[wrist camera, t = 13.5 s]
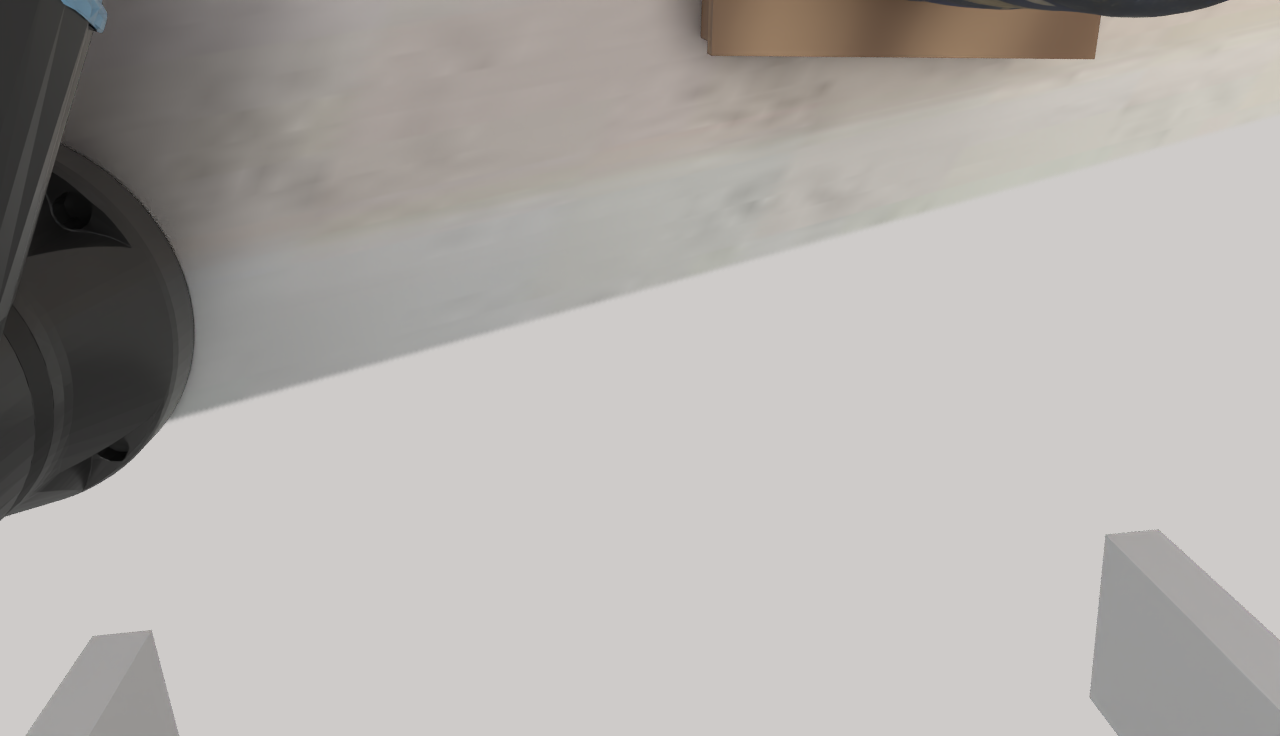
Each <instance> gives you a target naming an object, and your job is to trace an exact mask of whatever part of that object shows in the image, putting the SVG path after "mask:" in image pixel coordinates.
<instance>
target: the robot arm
mask: <svg viewBox="0 0 1280 736" xmlns="http://www.w3.org/2000/svg"><path fill="white" fill-rule="evenodd" d="M106 21H107V12H106V10H105V9H104V7H103V5H102V0H0V520H1V519H2V518H4V517H5V516H8V515H11V514H15V513H18V512H22V511H25V510H29V509H32V508H35V507H39V506H42V505H45V504H48V503H52V502H55V501H59V500H62V499H65V498H68V497H70V496H74V495H76V494H78V493H81V492H83V491H85V490H87V489H89V488H91V487H93V486H95V485H97V484H99V483H100V482H102V481H103V480H105V479H107V478H108V477H110V476H112V475H113V474H115V473H116V472H117V471H118V470H120V469H121V468H123V467H124V466H125V465H126V464H127V463H128V462H130V461H131V460H132V459H133V458H134V457H135V456H136V455H137V454H138V453H139V452H140V451H141V449H143V448H144V446H145V445H146V444H147V443H148V442H149V441H150V440H151V439H152V438H153V437H154V436H155V435H156V434H157V433H158V431H159V430H160V429H161V428H162V426H163V425H164V424H165V423H166V421H167V420H168V418H169V417H170V415H171V414H172V412H173V411H174V409H175V407H176V405H177V403H178V402H179V399H180V397H181V395H182V393H183V390H184V388H185V385H186V382H187V379H188V375H189V371H190V367H191V361H192V355H193V344H194V325H193V314H192V308H191V302H190V297H189V293H188V289H187V285H186V282H185V279H184V276H183V273H182V271H181V268H180V266H179V264H178V261H177V259H176V257H175V255H174V253H173V251H172V249H171V247H170V245H169V243H168V242H167V240H166V238H165V237H164V235H163V233H162V232H161V230H160V229H159V227H158V226H157V224H156V223H155V222H154V220H153V219H152V218H151V216H150V215H149V214H148V213H147V211H146V210H145V209H144V208H143V206H142V205H141V204H140V203H139V202H138V201H137V200H136V199H135V198H134V197H133V196H132V195H131V194H130V193H129V192H128V191H127V190H126V189H125V188H124V187H123V186H122V185H121V184H120V183H119V182H117V181H116V180H115V179H114V178H113V177H112V176H110V175H109V174H108V173H106V172H105V171H104V170H102V169H101V168H100V167H98V166H97V165H95V164H94V163H92V162H91V161H89V160H88V159H86V158H85V157H83V156H81V155H80V154H78V153H76V152H74V151H73V150H71V149H69V148H67V147H65V146H63V145H61V144H60V143H61V139H62V136H63V132H64V129H65V126H66V122H67V119H68V115H69V112H70V109H71V105H72V102H73V98H74V95H75V92H76V88H77V85H78V81H79V78H80V74H81V71H82V68H83V64H84V61H85V57H86V54H87V51H88V47H89V44H90V40H91V37H92V34H93V31H96V32H100V33H102V32H103V31H104V28H105V25H106ZM1090 699H1091V700H1092V701H1093V703H1094V704H1095V705H1096V707H1097V708H1098V709H1099V711H1100V712H1101V713H1102V715H1103V716H1104V717H1105V719H1106V720H1107V721H1108V723H1109V724H1110V725H1111V727H1112V728H1113V729H1114V731H1115V732H1116V733H1117V735H1118V736H1280V640H1279V639H1278V638H1277V637H1276V636H1275V635H1274V634H1273V633H1271V632H1270V631H1269V630H1268V629H1267V628H1266V627H1265V626H1264V625H1263V624H1262V623H1260V622H1259V621H1258V620H1257V619H1256V618H1255V617H1254V616H1253V615H1252V614H1251V613H1249V612H1248V611H1247V610H1246V609H1245V608H1244V607H1243V606H1242V605H1241V604H1239V602H1237V601H1236V600H1235V599H1234V598H1233V597H1232V596H1231V595H1230V594H1229V593H1228V592H1227V591H1225V590H1224V589H1223V588H1222V587H1221V586H1220V585H1219V584H1218V583H1217V582H1216V581H1214V580H1213V579H1212V578H1211V577H1210V576H1209V575H1208V574H1207V573H1206V572H1205V571H1203V570H1202V569H1201V568H1200V567H1199V566H1198V565H1197V564H1196V563H1195V562H1194V561H1193V560H1191V559H1190V558H1189V557H1188V556H1187V555H1186V554H1185V553H1184V552H1183V551H1182V550H1180V549H1179V548H1178V547H1177V546H1176V545H1175V544H1174V543H1173V542H1172V541H1171V540H1169V539H1168V538H1167V537H1166V536H1165V535H1164V534H1163V533H1162V532H1161V531H1159V530H1148V531H1138V532H1128V533H1118V534H1108V535H1106V536H1105V547H1104V556H1103V566H1102V577H1101V587H1100V597H1099V607H1098V618H1097V628H1096V638H1095V649H1094V658H1093V668H1092V679H1091V689H1090ZM26 736H179V734H178V730H177V727H176V723H175V719H174V715H173V711H172V707H171V703H170V700H169V696H168V692H167V689H166V684H165V680H164V677H163V673H162V669H161V665H160V661H159V657H158V654H157V650H156V646H155V642H154V638H153V634H152V631H151V630H149V631H140V632H129V633H120V634H110V635H100V636H93V637H92V638H91V640H90V641H89V643H88V644H87V646H86V647H85V648H84V650H83V651H82V653H81V654H80V656H79V658H78V659H77V660H76V662H75V663H74V665H73V666H72V668H71V669H70V671H69V672H68V674H67V675H66V677H65V678H64V680H63V681H62V683H61V684H60V685H59V687H58V689H57V690H56V691H55V693H54V695H53V696H52V697H51V699H50V700H49V702H48V703H47V705H46V706H45V708H44V709H43V711H42V712H41V714H40V715H39V717H38V718H37V720H36V721H35V723H34V724H33V725H32V727H31V728H30V730H29V731H28V733H27V735H26Z"/></svg>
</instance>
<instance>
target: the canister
mask: <svg viewBox="0 0 1280 736" xmlns="http://www.w3.org/2000/svg"><path fill="white" fill-rule="evenodd" d="M908 1H920V2H921V1H925V2H931V3H936V4H941V5H948V6H957V7H966V8H980V9H995V10H1013V9H1023V8H1024V9H1034V10H1046V11H1068V12H1080V13H1088V14H1095V15H1102V16H1110V17H1133V18H1135V17H1157V16H1166V15H1172V14H1178V13H1184V12H1190V11H1194V10H1198V9H1202V8H1207V7H1210V6H1213V5H1216V4H1219V3H1222V2H1225V1H1227V0H908Z"/></svg>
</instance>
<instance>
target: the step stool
mask: <svg viewBox="0 0 1280 736" xmlns="http://www.w3.org/2000/svg"><path fill="white" fill-rule="evenodd" d="M1100 18H1101V15H1095V14H1088V13H1080V12H1068V11H1046V10H1034V9H1024V8H1023V9H1013V10H995V9H980V8H966V7H957V6H948V5H941V4H936V3H931V2H925V1H921V2H920V1H908V0H702V13H701V38H703V39H705V40H707V41H708V47H707V54H709V55H711V56H809V57H921V58H1033V59H1095V52H1096V45H1097V39H1098V32H1099V25H1100Z"/></svg>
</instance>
